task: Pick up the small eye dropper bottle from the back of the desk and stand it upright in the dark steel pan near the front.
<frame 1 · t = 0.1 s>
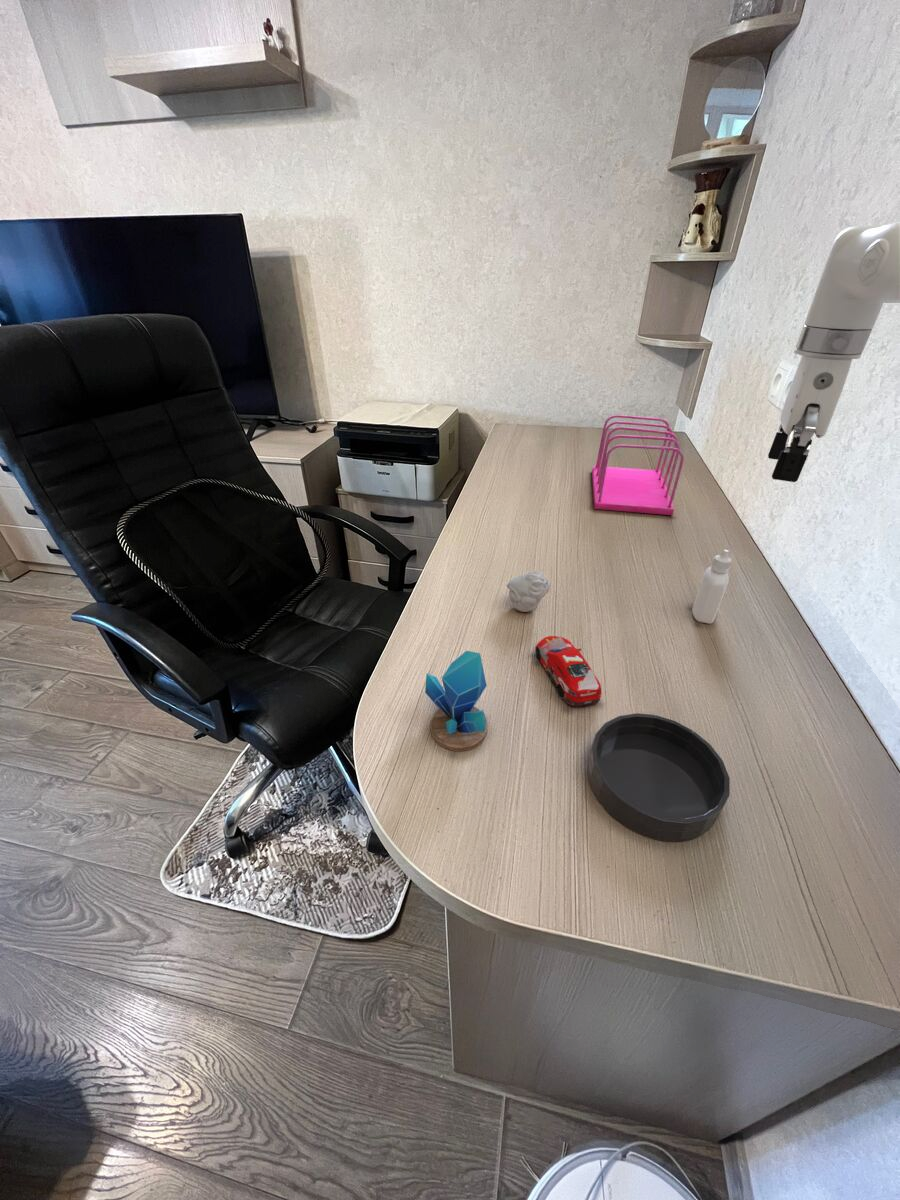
hand: (781, 469, 75), 22 cm above the table, tool pointing down, fingers open, 9 cm apart
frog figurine: (525, 610, 84), on the table
file sorter: (628, 493, 125), on the table
gemstone: (457, 728, 63), on the table
pan: (651, 782, 56), on the table
race car: (565, 676, 70), on the table
eye dropper bottle: (702, 615, 83), on the table
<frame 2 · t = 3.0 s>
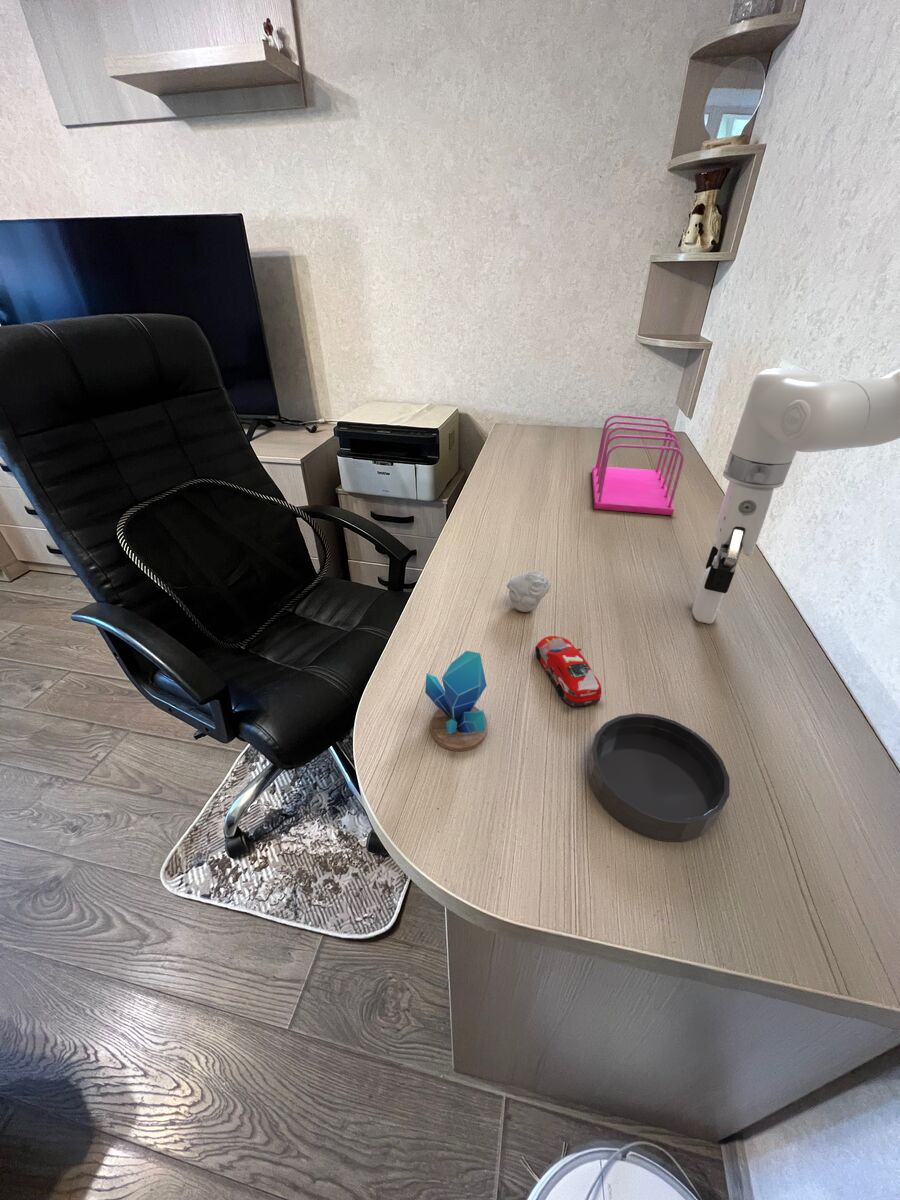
hand: (715, 579, 79), 7 cm above the table, tool pointing down, fingers closed on eye dropper bottle, 5 cm apart
eye dropper bottle: (702, 615, 83), on the table, touching gripper
everything else where it was.
when the fingers open (7 cm above the table, at t = 11.6 s): eye dropper bottle stays where it is, resting on pan.
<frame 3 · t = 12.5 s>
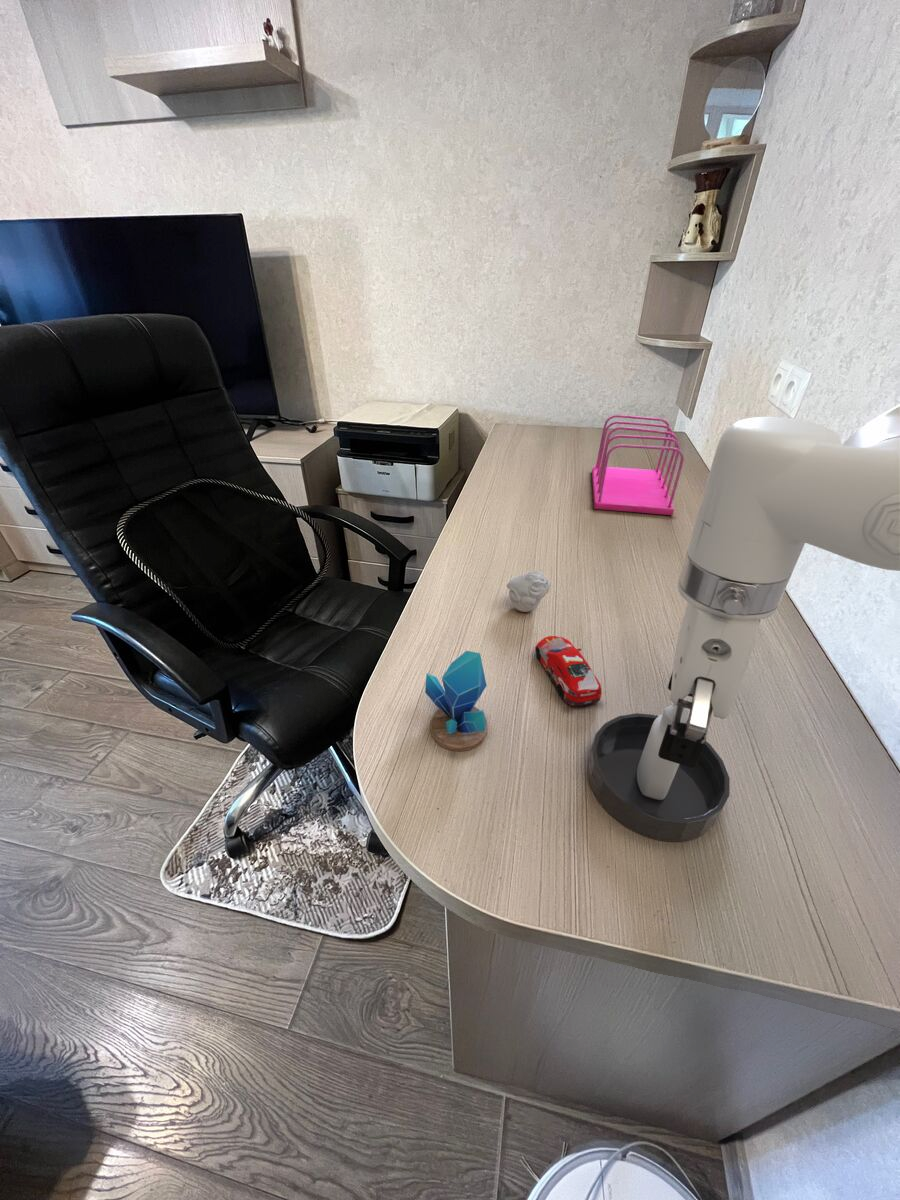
hand: (679, 724, 50), 10 cm above the table, tool pointing down, fingers open, 9 cm apart
eye dropper bottle: (651, 780, 56), resting on pan
everything else where it was.
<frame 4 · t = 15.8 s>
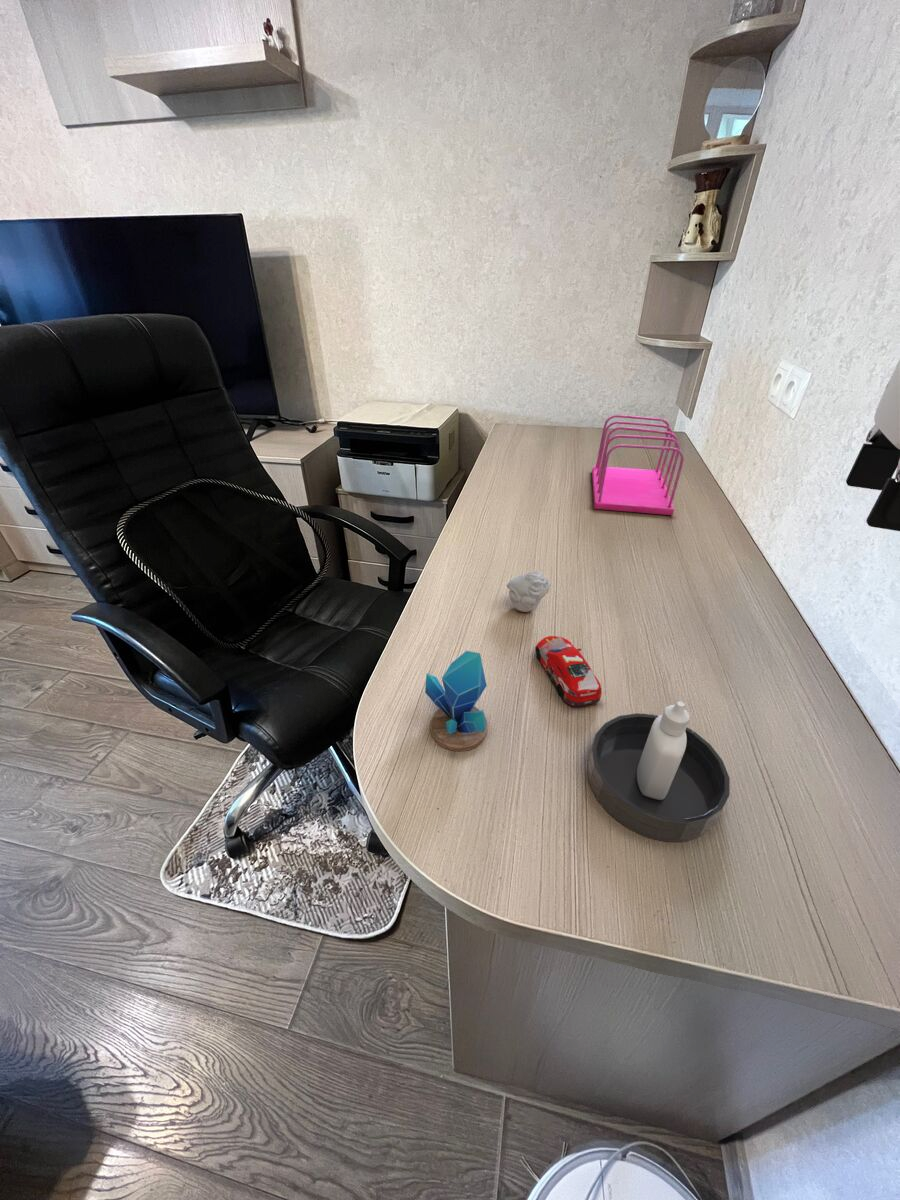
hand: (875, 505, 45), 30 cm above the table, tool pointing down, fingers open, 9 cm apart
nothing on the table moved.
at the end: eye dropper bottle inside the target area in the pan (0.0 cm from its centre), point 0.3 cm above the pan's base; eye dropper bottle tilted 0°; the gripper is holding nothing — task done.
